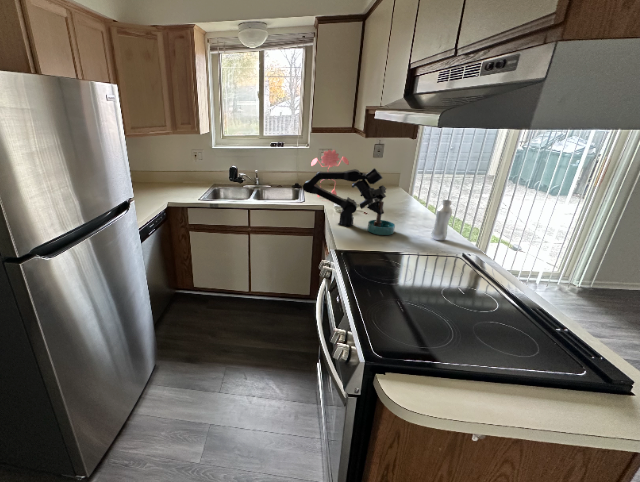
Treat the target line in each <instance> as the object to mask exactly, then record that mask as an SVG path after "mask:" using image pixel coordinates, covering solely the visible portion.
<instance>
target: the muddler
mask: <svg viewBox="0 0 640 482" xmlns="http://www.w3.org/2000/svg"><path fill="white" fill-rule="evenodd" d="M384 203H385V202H384V201H383V200H382V201H379V206H378V207H379V209H380V211H381V213H382V210H383V211H384ZM382 216H383V214H381V215H379V214H377V213H376V217H375V218H376V219H375V220H376V221H374V226H377V227H381V224H382V222H381V220H382Z"/></svg>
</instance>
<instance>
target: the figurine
mask: <svg viewBox="0 0 640 482" xmlns="http://www.w3.org/2000/svg"><path fill="white" fill-rule="evenodd" d="M320 159H321V161H319V159H318V157H315V158H314V159H312V161H311V163H310V164H311V165H310V166H311V167H314V166H315V165H316V164H317V162H318V164H319V165H320V167H321V168H324V167H325V168H327V167H328V168H327V172H330V171H329V169H330V168H333V167H339V166H340V164H341V162H343V163H344V164H346V165H347V166H349V165H350V163H349V162H350V161H349V159H348V158H347V157H346V156H343V155H342V157H341V159H340V157H339V153H337V151H336V149H333V150H330V149H328V150H327V151H326V150H324V151H323V155H322V156H321V157H320ZM338 161H339V162H338ZM322 164H324V165H322ZM325 180H326V179H320V182H322V181H325ZM327 180H328V181H330V180H331V181H334V184H336V181H337V180H335V179H327ZM335 188H336V185H334V187H333V189H332V190H331V193H333V194H335V195H337V196H338V194H337V191H336V190H335ZM316 196H317V198H320V197H321V196H319V195H317V194H316ZM322 201H325V199H324V200H323V199H322Z"/></svg>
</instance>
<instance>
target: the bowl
mask: <svg viewBox="0 0 640 482" xmlns="http://www.w3.org/2000/svg"><path fill="white" fill-rule="evenodd" d="M374 221H376V219H371V220H369V221H368V223H367V228H366V229H367V231H368V232H369V233H372V234H374V235H378V236H390V235H392V234H394V233H395V227H396V225H395V223H394V222H392V221H389V220H384V219H381V222H382V224H381V227H377V226H374Z"/></svg>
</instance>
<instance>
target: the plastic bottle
mask: <svg viewBox="0 0 640 482" xmlns="http://www.w3.org/2000/svg"><path fill="white" fill-rule="evenodd" d="M451 205H452V200H449V199H442V201H441V205H440V206H439V207H437V209H436V213H435V223H434V226H433V229H432V231H431V234H430V235H431V238H432V239H433V240H436V241H444V240H446V239H447V236H448V227H449V222H450V220H451V218H452V214H453V210H452V207H451Z"/></svg>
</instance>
